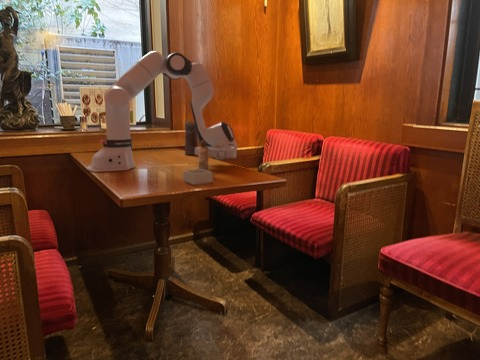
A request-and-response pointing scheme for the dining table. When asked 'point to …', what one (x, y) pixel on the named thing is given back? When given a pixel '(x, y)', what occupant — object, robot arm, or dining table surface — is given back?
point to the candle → (190, 138)
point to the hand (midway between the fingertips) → (208, 154)
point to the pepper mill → (203, 155)
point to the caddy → (197, 176)
